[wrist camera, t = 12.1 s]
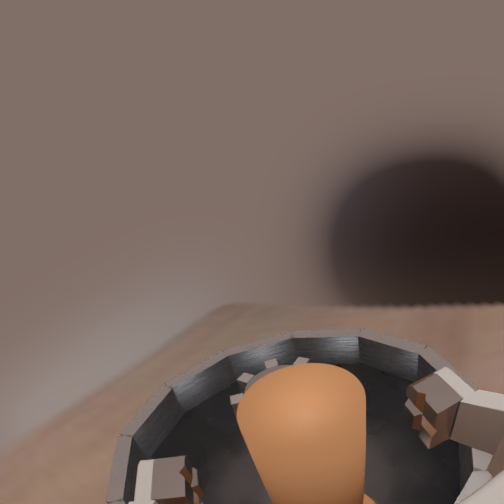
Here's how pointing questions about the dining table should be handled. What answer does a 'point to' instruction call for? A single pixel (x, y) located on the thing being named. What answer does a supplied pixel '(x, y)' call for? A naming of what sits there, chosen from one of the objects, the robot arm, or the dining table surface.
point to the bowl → (280, 356)
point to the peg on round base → (307, 434)
